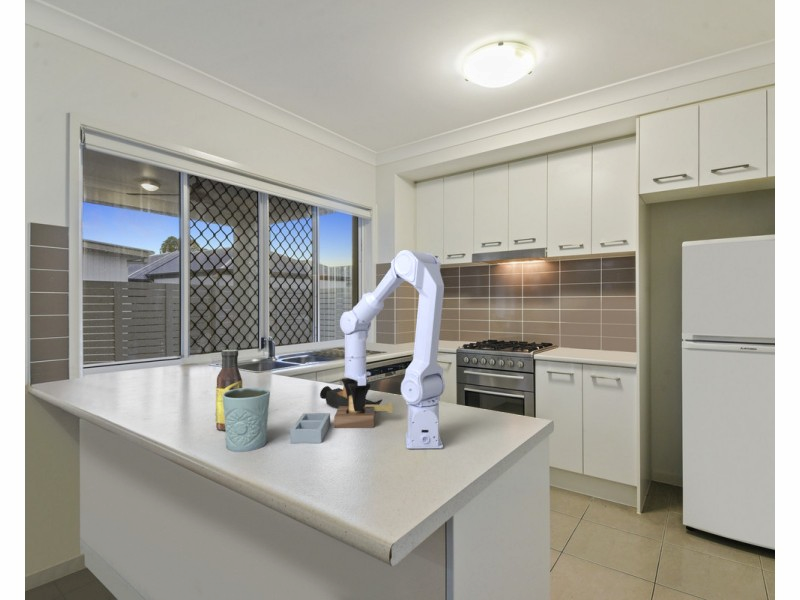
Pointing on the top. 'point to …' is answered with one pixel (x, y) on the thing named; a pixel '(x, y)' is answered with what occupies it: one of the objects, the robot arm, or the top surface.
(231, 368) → the sauce bottle
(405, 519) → the top surface
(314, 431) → the divided storage tray
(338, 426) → the socket block
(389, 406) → the drift key
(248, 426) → the teal embossed cup
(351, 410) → the dowel peg
